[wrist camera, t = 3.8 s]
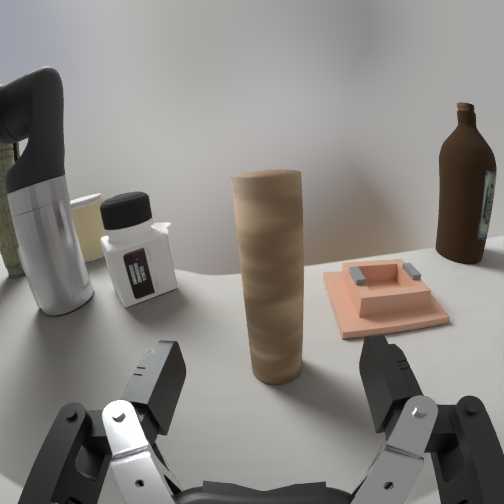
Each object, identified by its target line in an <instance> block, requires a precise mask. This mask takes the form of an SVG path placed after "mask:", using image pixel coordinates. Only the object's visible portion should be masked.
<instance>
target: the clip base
mask: <svg viewBox="0 0 504 504" xmlns="http://www.w3.org/2000/svg"><path fill="white" fill-rule="evenodd" d="M420 278H421V274H420V273H419V272H418V271H417V270H416V269H415V268H414V267H413V266H412V264H411V263H405V262H404V261H403V260H402V259H395V260H380V261H364V262H348V263H343V272H327V273H323V281H324V284H325V287H326V290H327V293H328V296H329V299H330V302H331V305H332V308H333V311H334V314H335V317H336V320H337V324H338V327H339V330H340V333H341V337H342V339H346V338H356V337H365V336H368V335H376V334H387V333H394V332H401V331H407V330H413V329H419V328H424V327H430V326H435V325H440V324H445V323H448V320H449V315H448V314H447V313H446V312H445V311H444V309H443V308H442V307H441V306H440V305H439V303H438V302H437V301H436V300H435V299H434V297H433V296H432V295H431V294H430V292H431V290H430V289H429V288H428V287H427V286H426V284H425V283H424V282H423V281H422V280H421V279H420Z"/></svg>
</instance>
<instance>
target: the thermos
mask: <svg viewBox="0 0 504 504" xmlns="http://www.w3.org/2000/svg"><path fill="white" fill-rule="evenodd" d="M13 151H14V152H13ZM13 153H14V156H13ZM19 158H20V155H19V143H18V142H16V143H12V144H4V143H0V251H1V255H2V258H3V261H4V264H5V267H6V268H7V270H8V273H9V277H10V278H17V277H21V276H23V275H25V272H24V269H23V266H22V263H21V260H20V257H19V254H18V247H19V244H18V241H17V237H16V233H15V229H14V225H13V221H12V216H11V212H10V207H9V202H8V197H7V191H6V185H5V176H6V173H7V171H8V170H9V169H10V168H11V167H12V166H13V165H14V164H15V163H16V161H17V160H18V159H19Z"/></svg>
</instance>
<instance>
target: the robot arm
mask: <svg viewBox="0 0 504 504" xmlns="http://www.w3.org/2000/svg"><path fill="white" fill-rule="evenodd" d="M63 101H64V98H63V86H62V81H61V78H60V75H59V73H58V72H57V71H56V69H54V68H52V67H50V66H49V67H47V66H46V67H42V68H40V69H37V70H35V71H33V72H31V73H28V74H26V75H24V76H22V77H20V78H18V79H17V80H15V81H13V82H11V83H8V84H5V85H0V143H4V144H12V143H16V142H19V141H21V140H24V139H26V138H28V143H27V146H26V148H25V150H24V152H23V154H22V155H21V156H20V158H19V159H18V160H17V161H16V163H15V164H14V165H13V166H12V167H11V168H10V169H9V170H8V171H7V173H6V176H5V185H6V191H7V197H8V202H9V207H10V212H11V216H12V221H13V225H14V229H15V233H16V237H17V241H18V244H19V247H18V254H19V257H20V260H21V263H22V266H23V269H24V272H25V275H26V278H27V280H28V283H29V286H30V288H31V291H32V293H33V296H34V298H35V301H36V303H37V306H38V308H41V309H42V311H43V312H44V313H45V314H47V315H61V314H65V313H68V312H70V311H73V310H75V309H77V308H79V307H80V306H82V305H83V304H85V303H86V302H87V301H88V300H89V299H90V298H91V296H92V294H93V291H94V290H93V287H92V284H91V281H90V278H89V275H88V271H87V268H86V264H85V261H84V258H83V254H82V251H81V247H80V243H79V239H78V235H77V231H76V227H75V223H74V219H73V214H72V209H71V204H70V199H69V194H68V189H67V182H66V176H65V169H64V154H65V150H64V134H63V108H64V103H63ZM359 370H360V375H361V379H362V382H363V385H364V389H365V392H366V396H367V399H368V403H369V407H370V410H371V414H372V418H373V422H374V426H375V430H376V433H381V432H385V434H386V439H385V441H384V443H383V444H382V446H381V448H380V450H379V452H378V453H377V455H376V457H375V459H374V460H373V462H372V464H371V465H370V467H369V469H368V470H367V472H366V473H365V475H364V476H363V478H362V479H361V481H360V482H359V483H358V485H357V486H356V488H355V489H354V490H353V492H352V493H351V494H350V493H347V492H345V491H342V490H339V489H335V488H329V487H326V482H317V483H305V484H294V485H290V486H286V487H282V488H278V489H273V490H269V491H259V490H255V489H251V488H247V487H243V486H239V485H236V484H231V483H219V482H210V481H203V486H202V487H195V488H191V489H187V490H184V489H183V488H182V486H181V485H180V483H179V482H178V480H177V479H176V478H175V476H174V475H173V473H172V471H171V469H170V467H169V466H168V464H167V462H166V460H165V458H164V456H163V454H162V452H161V450H160V448H159V446H158V444H157V442H156V438H157V435H158V434H160V435H166V436H167V433H168V430H169V427H170V424H171V421H172V417H173V414H174V411H175V408H176V405H177V402H178V399H179V396H180V393H181V390H182V387H183V384H184V381H185V378H186V366H185V363H184V359H183V356H182V353H181V350H180V347H179V344H178V342H176V341H159V343H158V344H157V346H156V348H155V350H154V351H149V352H148V353H147V354H145V355H144V356H143V357H142V358H141V360H140V362H139V364H138V366H137V368H136V370H135V371H134V375H132V377H131V379H130V381H129V383H128V385H127V387H126V389H125V391H124V393H123V395H122V397H121V399H120V401H115V402H112V403H110V404H109V405H107V406H106V407H105V409H104V410H97V411H86V409H85V408H84V407H83V406H82V405H81V404H79V403H76V402H73V403H69V404H66V405H65V406H64V407H62V409H61V410H60V412H59V414H58V415H57V417H56V419H55V421H54V423H53V425H52V427H51V429H50V431H49V433H48V435H47V437H46V439H45V441H44V443H43V445H42V447H41V449H40V452H39V454H38V456H37V458H36V460H35V462H34V465H33V467H32V469H31V472H30V474H29V476H28V479H27V481H26V484H25V486H24V489H23V491H22V494H21V497H20V500H19V502H18V504H97V502H98V499H99V495H100V492H101V489H102V485H103V482H104V479H105V476H106V473H107V470H108V467H109V464H111V467H112V470H113V473H114V476H115V479H116V481H117V484H118V486H119V489H120V492H121V494H122V496H123V499H124V501H125V504H404V502H405V500H406V498H407V496H408V494H409V492H410V490H411V488H412V486H413V484H414V482H415V480H416V478H417V476H418V474H419V472H420V470H421V467H422V465H423V462H424V458H422V456H423V453H425V452H430V453H431V457H432V461H433V466H434V470H435V475H436V479H437V484H438V490H439V495H440V500H441V504H504V454H503V451H502V448H501V445H500V443H499V440H498V437H497V435H496V432H495V430H494V427H493V425H492V422H491V420H490V418H489V415H488V413H487V411H486V409H485V407H484V404H483V403H482V401H481V400H480V399H478V398H477V397H474V396H465V397H463V398H461V399H460V400H459V401H458V403H457V404H456V405H438V404H436V403H435V402H434V400H432V399H431V398H429V397H427V396H424V395H423V393H422V391H421V389H420V387H419V384H418V382H417V380H416V378H415V376H414V374H413V372H412V369H410V365H409V363H408V361H407V359H406V357H405V355H404V353H403V351H402V350H401V349H400V348H399V347H398V346H396V345H395V344H388V342H387V340H386V338H385V336H384V334H376V335H368V336H366V337H365V339H364V344H363V348H362V353H361V357H360V362H359ZM81 446H82V447H81ZM80 448H81V450H80ZM79 451H80V452H79ZM78 453H79V455H78ZM112 455H113V458H112ZM77 456H78V457H77ZM76 458H77V460H76ZM75 461H76V462H75Z"/></svg>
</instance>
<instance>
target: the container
mask: <svg viewBox="0 0 504 504" xmlns="http://www.w3.org/2000/svg"><path fill="white" fill-rule="evenodd" d="M100 212H101V217H102V221H103V226H104V230H105V235H106V236H104V237H102V238H101V245H102V249H103V252H104V256H105V260H106V263H107V267H108V270H109V274H110V277H111V280H112V284H113V286H114V288H115V290H116V292H117V294H118V296H119V298H120V300H121V302H122V304H123V305H124V307H130V306H132V305H135V304H138V303H140V302H143V301H145V300H148V299H151V298H153V297H156V296H158V295H161V294H164V293H166V292H169V291H172V290H174V289H176V288H177V281H176V277H175V272H174V268H173V263H172V258H171V253H170V248H169V242H168V237H167V234H166V233H165V232H163V231H161V230H159V229H157V228H156V227H154V226H152V224H153V219H152V213H151V208H150V202H149V196H148V195H147V194H146V193H143V192H130V193H125V194H120V195H117V196H114V197H111V198H108V199H106V200H105V201H104V202H103V203H102V204H101V206H100Z"/></svg>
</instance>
